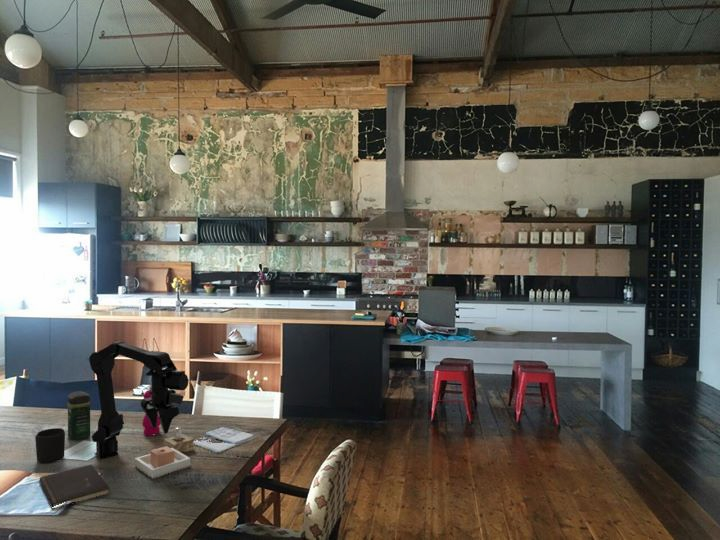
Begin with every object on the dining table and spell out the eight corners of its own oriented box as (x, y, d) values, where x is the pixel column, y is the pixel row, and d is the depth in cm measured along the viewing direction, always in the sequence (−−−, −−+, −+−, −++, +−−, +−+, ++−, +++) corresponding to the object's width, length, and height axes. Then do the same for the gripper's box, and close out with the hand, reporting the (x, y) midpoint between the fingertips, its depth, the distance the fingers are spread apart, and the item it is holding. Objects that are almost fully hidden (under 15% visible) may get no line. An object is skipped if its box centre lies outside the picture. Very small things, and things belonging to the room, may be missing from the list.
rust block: (158, 469, 181) (157, 455, 181) (150, 464, 186) (150, 450, 185) (174, 464, 186) (174, 450, 185) (166, 459, 190) (166, 446, 190)
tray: (152, 478, 176) (152, 470, 176) (134, 466, 185) (134, 458, 185) (190, 466, 186) (190, 458, 186) (172, 455, 196) (171, 447, 195)
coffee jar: (92, 438, 212) (92, 393, 211) (70, 443, 207) (70, 397, 206) (87, 431, 219) (86, 388, 218) (66, 436, 214) (65, 391, 213)
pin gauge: (175, 445, 201) (174, 427, 200) (181, 444, 202) (181, 426, 201) (175, 448, 199) (174, 430, 198) (182, 447, 200) (181, 429, 199)
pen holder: (71, 455, 194) (71, 429, 194) (50, 466, 185) (49, 438, 185) (51, 452, 197) (50, 427, 196) (29, 462, 188) (28, 435, 187)
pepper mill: (148, 437, 213) (148, 389, 212) (139, 433, 218) (138, 386, 217) (164, 432, 219) (163, 385, 218) (154, 428, 224) (154, 382, 223)
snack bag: (255, 439, 214) (255, 434, 214) (217, 455, 197) (217, 450, 197) (223, 430, 225) (223, 425, 224) (185, 444, 208) (185, 439, 208)
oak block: (174, 456, 195) (174, 444, 195) (163, 450, 201) (163, 439, 200) (193, 450, 201) (193, 439, 201) (182, 445, 207) (182, 433, 206)
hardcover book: (92, 470, 183) (91, 464, 183) (109, 495, 166) (109, 488, 165) (39, 483, 173) (39, 476, 173) (52, 511, 155) (52, 503, 155)
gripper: (193, 388, 187) (193, 431, 188) (168, 379, 200) (169, 418, 201) (163, 394, 179) (163, 439, 180) (140, 384, 192) (140, 425, 193)
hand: (160, 430), depth 189 cm, fingers open, 9 cm apart
